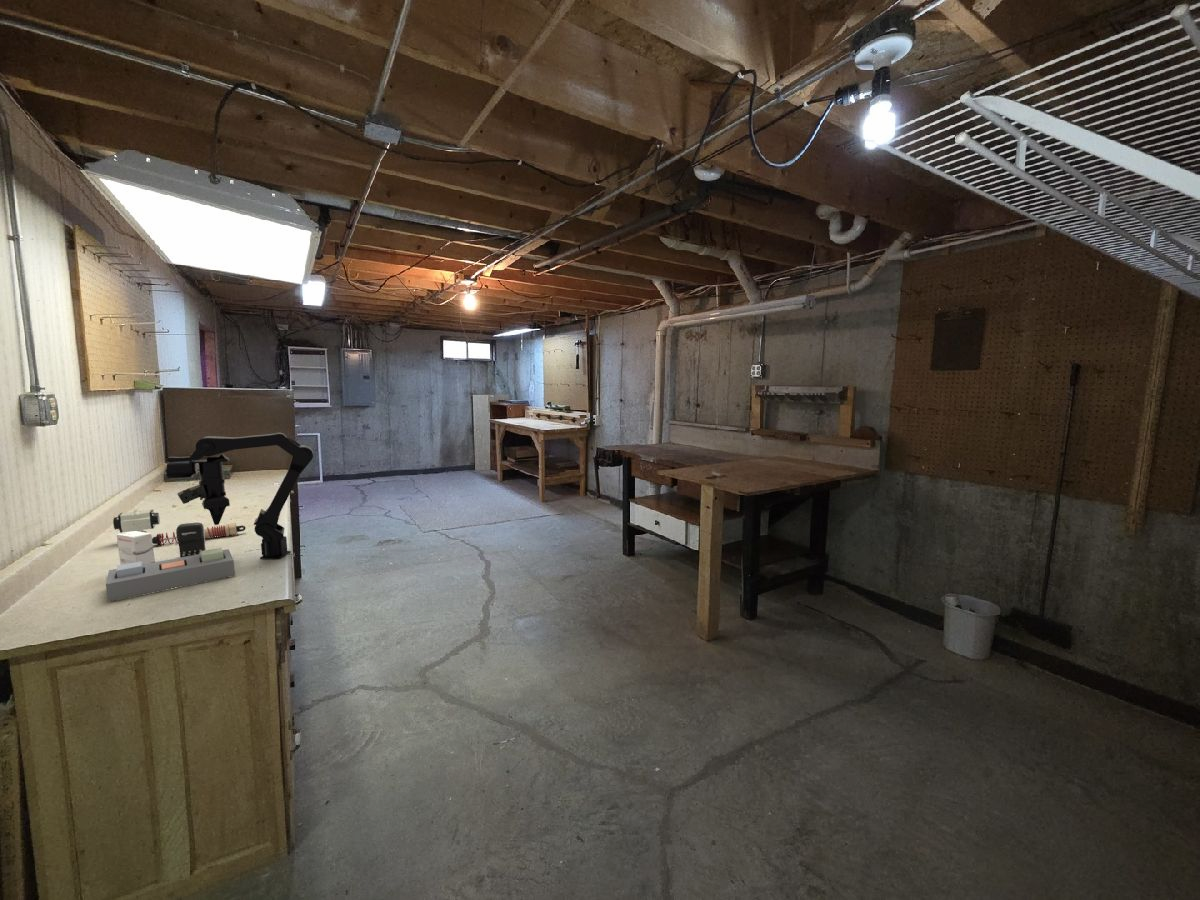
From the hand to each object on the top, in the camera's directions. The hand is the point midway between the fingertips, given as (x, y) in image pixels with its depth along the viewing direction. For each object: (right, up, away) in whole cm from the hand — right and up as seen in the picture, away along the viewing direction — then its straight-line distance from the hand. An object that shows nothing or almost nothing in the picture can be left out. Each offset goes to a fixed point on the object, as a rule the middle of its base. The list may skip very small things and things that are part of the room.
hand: (216, 524), depth 154 cm
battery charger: (-14, -12, +8) cm, 20 cm away
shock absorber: (-27, -10, +25) cm, 38 cm away
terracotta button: (-2, -14, -12) cm, 19 cm away
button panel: (-2, -15, -12) cm, 19 cm away
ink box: (-21, -14, -4) cm, 25 cm away
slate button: (-9, -13, -19) cm, 24 cm away
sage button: (+4, -11, -7) cm, 14 cm away
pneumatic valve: (-46, -10, +22) cm, 52 cm away
